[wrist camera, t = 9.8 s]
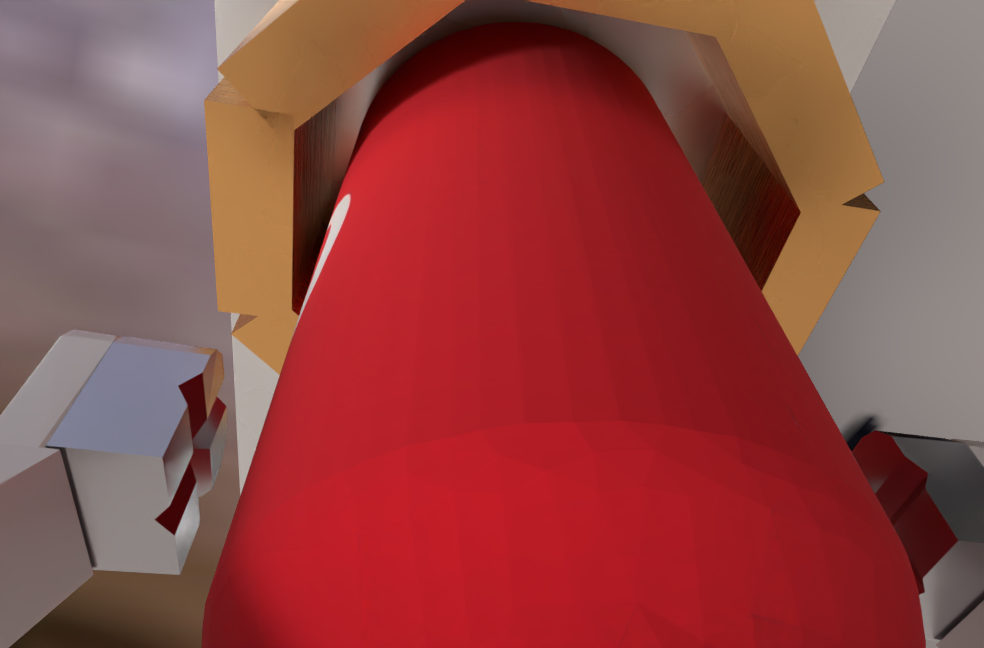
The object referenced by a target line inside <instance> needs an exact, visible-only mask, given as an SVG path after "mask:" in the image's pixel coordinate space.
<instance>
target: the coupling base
mask: <svg viewBox="0 0 984 648" xmlns="http://www.w3.org/2000/svg"><path fill="white" fill-rule="evenodd" d="M895 1H896V0H215V19H216V38H217V57H218V68H217V69H218V76H219V84H218V85H217V86H216V87H215V88H214V89H213V91H212V92H211V93H210V94H209V95H208V96H207V98H206V99H205V100H204V105H205V120H206V135H207V150H208V165H209V181H210V196H211V211H212V226H213V241H214V257H215V272H216V287H217V302H218V311H223V312H230V313H231V325H232V333H231V334H232V344H233V363H234V382H235V401H236V420H237V439H238V458H239V478H240V496H241V492H242V489H243V486H244V483H245V480H246V477H247V474H248V471H249V468H250V465H251V462H252V459H253V456H254V453H255V450H256V446H257V443H258V440H259V437H260V434H261V431H262V428H263V425H264V422H265V419H266V416H267V413H268V410H269V407H270V403H271V400H272V397H273V394H274V391H275V388H276V385H277V382H278V379H279V376H280V373H281V370H282V367H283V364H284V361H285V357H286V354H287V351H288V348H289V345H290V342H291V339H292V336H293V333H294V330H295V327H296V324H297V321H298V318H299V315H300V311H301V308H302V305H303V302H304V299H305V296H306V293H307V290H308V287H309V284H310V281H311V278H312V275H313V272H314V268H315V265H316V262H317V259H318V256H319V253H320V250H321V247H322V244H323V241H324V238H325V235H326V232H327V229H328V226H329V222H330V219H331V216H332V213H333V210H334V207H335V204H336V201H337V198H338V195H339V192H340V189H341V186H342V183H343V179H344V176H345V173H346V170H347V167H348V164H349V161H350V158H351V155H352V152H353V149H354V146H355V143H356V140H357V136H358V133H359V130H360V127H361V124H362V122H363V120H364V117H365V115H366V113H367V110H368V108H369V106H370V105H371V103H372V101H373V100H374V98H375V96H376V95H377V93H378V92H379V90H380V89H381V88H382V86H383V85H384V83H385V82H386V81H387V80H388V79H389V78H390V77H391V76H392V75H393V73H394V72H395V71H396V70H397V69H398V68H399V67H400V66H401V65H402V64H404V63H405V62H406V61H407V60H408V59H410V58H411V57H412V56H413V55H415V54H416V53H418V52H419V51H421V50H422V49H424V48H425V47H427V46H428V45H430V44H432V43H434V42H436V41H438V40H440V39H442V38H444V37H446V36H449V35H451V34H453V33H456V32H458V31H462V30H465V29H469V28H472V27H476V26H480V25H485V24H491V23H500V22H531V23H540V24H546V25H552V26H556V27H559V28H563V29H566V30H570V31H573V32H575V33H578V34H581V35H583V36H585V37H587V38H589V39H591V40H593V41H595V42H596V43H598V44H600V45H602V46H603V47H605V48H607V49H608V50H609V51H611V52H612V53H614V54H615V55H616V56H618V57H619V58H620V59H621V60H622V61H623V62H624V63H626V64H627V65H628V66H629V67H630V68H631V69H632V70H633V71H634V73H635V74H636V75H637V76H638V77H639V78H640V79H641V81H642V82H643V83H644V85H645V86H646V87H647V89H648V90H649V92H650V94H651V95H652V97H653V99H654V100H655V102H656V104H657V106H658V108H659V109H660V111H661V113H662V115H663V117H664V118H665V120H666V122H667V124H668V125H669V127H670V129H671V131H672V133H673V134H674V136H675V138H676V140H677V142H678V143H679V145H680V147H681V149H682V150H683V152H684V154H685V156H686V158H687V159H688V161H689V163H690V165H691V167H692V168H693V170H694V172H695V174H696V175H697V177H698V179H699V181H700V183H701V184H702V186H703V188H704V190H705V192H706V193H707V195H708V197H709V199H710V200H711V202H712V204H713V206H714V208H715V209H716V211H717V213H718V215H719V217H720V218H721V220H722V222H723V224H724V225H725V227H726V229H727V231H728V233H729V234H730V236H731V238H732V240H733V242H734V243H735V245H736V247H737V249H738V250H739V252H740V254H741V256H742V258H743V259H744V261H745V263H746V265H747V267H748V268H749V270H750V272H751V274H752V275H753V277H754V279H755V281H756V283H757V284H758V286H759V288H760V290H761V292H762V293H763V295H764V297H765V299H766V300H767V302H768V304H769V306H770V308H771V309H772V311H773V313H774V315H775V317H776V318H777V320H778V322H779V324H780V325H781V327H782V329H783V331H784V333H785V334H786V336H787V338H788V340H789V342H790V343H791V345H792V347H793V349H794V350H795V352H796V354H797V356H798V354H799V353H800V351H801V349H802V348H803V346H804V344H805V342H806V341H807V339H808V337H809V335H810V334H811V332H812V330H813V328H814V327H815V325H816V323H817V321H818V320H819V318H820V316H821V314H822V313H823V311H824V309H825V307H826V306H827V304H828V302H829V301H830V299H831V297H832V295H833V293H834V292H835V290H836V288H837V286H838V285H839V283H840V281H841V280H842V278H843V276H844V274H845V273H846V271H847V269H848V267H849V266H850V264H851V262H852V260H853V259H854V257H855V255H856V253H857V252H858V250H859V248H860V246H861V245H862V243H863V241H864V240H865V238H866V236H867V234H868V232H869V231H870V229H871V227H872V226H873V224H874V222H875V220H876V219H877V217H878V215H879V213H880V210H879V209H878V208H877V207H876V206H875V205H874V204H873V203H872V202H871V201H870V200H869V199H868V198H867V196H865V194H864V193H865V192H866V191H868V190H870V189H872V188H874V187H876V186H878V185H880V184H882V183H884V180H883V177H882V175H881V172H880V170H879V167H878V164H877V162H876V159H875V157H874V154H873V152H872V149H871V146H870V144H869V141H868V139H867V136H866V133H865V131H864V128H863V126H862V123H861V121H860V118H859V115H858V113H857V111H856V108H855V105H854V103H853V100H852V97H851V95H850V93H851V91H852V89H853V87H854V85H855V83H856V81H857V79H858V77H859V75H860V73H861V71H862V69H863V67H864V65H865V63H866V61H867V59H868V57H869V55H870V52H871V51H872V48H873V46H874V44H875V42H876V40H877V38H878V36H879V34H880V32H881V30H882V28H883V26H884V24H885V22H886V20H887V18H888V16H889V14H890V12H891V9H892V8H893V6H894V4H895Z"/></svg>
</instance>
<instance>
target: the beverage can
mask: <svg viewBox="0 0 984 648" xmlns="http://www.w3.org/2000/svg"><path fill="white" fill-rule="evenodd" d="M925 642H926V640H925V632H924V624H923V617H922V609H921V603H920V598H919V592H918V587H917V584H916V580H915V577H914V574H913V570H912V567H911V564H910V560H909V557H908V554H907V552H906V550H905V548H904V546H903V544H902V542H901V540H900V538H899V536H898V534H897V533H896V531H895V529H894V527H893V525H892V524H891V522H890V520H889V518H888V517H887V515H886V513H885V511H884V509H883V508H882V506H881V504H880V502H879V500H878V499H877V497H876V495H875V493H874V492H873V490H872V488H871V486H870V484H869V483H868V481H867V479H866V477H865V475H864V474H863V472H862V470H861V468H860V467H859V465H858V463H857V461H856V459H855V458H854V456H853V454H852V452H851V450H850V449H849V447H848V445H847V443H846V442H845V440H844V438H843V436H842V434H841V433H840V431H839V429H838V427H837V425H836V424H835V422H834V420H833V418H832V417H831V415H830V413H829V411H828V409H827V408H826V406H825V404H824V402H823V400H822V399H821V397H820V395H819V393H818V392H817V390H816V388H815V386H814V384H813V383H812V381H811V379H810V377H809V376H808V374H807V372H806V370H805V368H804V367H803V365H802V363H801V361H800V359H799V358H798V356H797V354H796V352H795V350H794V349H793V347H792V345H791V343H790V342H789V340H788V338H787V336H786V334H785V333H784V331H783V329H782V327H781V325H780V324H779V322H778V320H777V318H776V317H775V315H774V313H773V311H772V309H771V308H770V306H769V304H768V302H767V300H766V299H765V297H764V295H763V293H762V292H761V290H760V288H759V286H758V284H757V283H756V281H755V279H754V277H753V275H752V274H751V272H750V270H749V268H748V267H747V265H746V263H745V261H744V259H743V258H742V256H741V254H740V252H739V250H738V249H737V247H736V245H735V243H734V242H733V240H732V238H731V236H730V234H729V233H728V231H727V229H726V227H725V225H724V224H723V222H722V220H721V218H720V217H719V215H718V213H717V211H716V209H715V208H714V206H713V204H712V202H711V200H710V199H709V197H708V195H707V193H706V192H705V190H704V188H703V186H702V184H701V183H700V181H699V179H698V177H697V175H696V174H695V172H694V170H693V168H692V167H691V165H690V163H689V161H688V159H687V158H686V156H685V154H684V152H683V150H682V149H681V147H680V145H679V143H678V142H677V140H676V138H675V136H674V134H673V133H672V131H671V129H670V127H669V125H668V124H667V122H666V120H665V118H664V117H663V115H662V113H661V111H660V109H659V108H658V106H657V104H656V102H655V100H654V99H653V97H652V95H651V94H650V92H649V90H648V89H647V87H646V86H645V85H644V83H643V82H642V81H641V79H640V78H639V77H638V76H637V75H636V74H635V73H634V71H633V70H632V69H631V68H630V67H629V66H628V65H627V64H626V63H624V62H623V61H622V60H621V59H620V58H619V57H618V56H616V55H615V54H614V53H612V52H611V51H609V50H608V49H607V48H605V47H603V46H602V45H600V44H598V43H596V42H595V41H593V40H591V39H589V38H587V37H585V36H583V35H581V34H578V33H575V32H573V31H570V30H566V29H563V28H559V27H556V26H552V25H546V24H540V23H531V22H500V23H491V24H485V25H480V26H476V27H472V28H469V29H465V30H462V31H458V32H456V33H453V34H451V35H449V36H446V37H444V38H442V39H440V40H438V41H436V42H434V43H432V44H430V45H428V46H427V47H425V48H424V49H422V50H421V51H419V52H418V53H416V54H415V55H413V56H412V57H411V58H410V59H408V60H407V61H406V62H405V63H404V64H402V65H401V66H400V67H399V68H398V69H397V70H396V71H395V72H394V73H393V75H392V76H391V77H390V78H389V79H388V80H387V81H386V82H385V83H384V85H383V86H382V88H381V89H380V90H379V92H378V93H377V95H376V96H375V98H374V100H373V101H372V103H371V105H370V106H369V108H368V110H367V113H366V115H365V117H364V120H363V122H362V124H361V127H360V130H359V133H358V136H357V140H356V143H355V146H354V149H353V152H352V155H351V158H350V161H349V164H348V167H347V170H346V173H345V176H344V179H343V183H342V186H341V189H340V192H339V195H338V198H337V201H336V204H335V207H334V210H333V213H332V216H331V219H330V222H329V226H328V229H327V232H326V235H325V238H324V241H323V244H322V247H321V250H320V253H319V256H318V259H317V262H316V265H315V268H314V272H313V275H312V278H311V281H310V284H309V287H308V290H307V293H306V296H305V299H304V302H303V305H302V308H301V311H300V315H299V318H298V321H297V324H296V327H295V330H294V333H293V336H292V339H291V342H290V345H289V348H288V351H287V354H286V357H285V361H284V364H283V367H282V370H281V373H280V376H279V379H278V382H277V385H276V388H275V391H274V394H273V397H272V400H271V403H270V407H269V410H268V413H267V416H266V419H265V422H264V425H263V428H262V431H261V434H260V437H259V440H258V443H257V446H256V450H255V453H254V456H253V459H252V462H251V465H250V468H249V471H248V474H247V477H246V480H245V483H244V486H243V489H242V492H241V496H240V499H239V502H238V505H237V508H236V511H235V514H234V517H233V520H232V523H231V526H230V529H229V532H228V535H227V538H226V542H225V545H224V548H223V551H222V554H221V557H220V560H219V563H218V566H217V569H216V572H215V575H214V578H213V581H212V585H211V588H210V591H209V594H208V597H207V600H206V603H205V611H204V619H203V630H202V648H926V647H925V646H926V643H925Z"/></svg>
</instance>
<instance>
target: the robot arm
mask: <svg viewBox="0 0 984 648" xmlns="http://www.w3.org/2000/svg"><path fill="white" fill-rule="evenodd" d="M223 380H224V367H223V357H222V354H221V353H220V352H219V351H218V350H217V349H210V348H203V347H197V346H190V345H183V344H176V343H169V342H162V341H155V340H149V339H142V338H135V337H128V336H122V337H120V336H114V335H108V334H101V333H94V332H87V331H81V330H72V331H70V332H68V333H66V334H64V335H62V336H61V337H59V339H58V340H57V341H56V342H55V344H54V345H53V346H52V348H51V349H50V350H49V352H48V353H47V354H46V356H45V357H44V358H43V360H42V361H41V362H40V364H39V365H38V366H37V368H36V369H35V370H34V371H33V373H32V374H31V375H30V377H29V378H28V379H27V381H26V382H25V383H24V385H23V386H22V387H21V389H20V390H19V391H18V393H17V394H16V395H15V396H14V398H13V399H12V400H11V402H10V403H9V404H8V406H7V407H6V408H5V410H4V411H3V412H2V414H1V415H0V648H9V647H10V646H11V645H12V644H14V643H15V642H16V641H17V640H18V639H19V638H21V637H22V636H23V635H24V634H25V633H26V632H28V631H29V630H30V629H31V628H32V627H33V626H34V625H36V624H37V623H38V622H39V621H40V620H41V619H43V618H44V617H45V616H46V615H47V614H48V613H50V612H51V611H52V610H53V609H54V608H55V607H57V606H58V605H59V604H60V603H61V602H62V601H63V600H65V599H66V598H67V597H68V596H69V595H70V594H72V593H73V592H74V591H75V590H76V589H77V588H79V587H80V586H81V585H82V584H83V583H84V582H86V581H87V580H88V579H89V578H90V577H91V576H93V570H109V571H125V572H142V573H159V574H176V575H180V573H181V571H182V568H183V565H184V563H185V560H186V557H187V555H188V552H189V550H190V547H191V544H192V542H193V539H194V537H195V534H196V531H197V529H198V526H199V523H200V513H199V502H198V498H199V497H201V496H202V495H204V494H205V493H206V492H208V491H209V490H211V489H212V488H213V486H214V483H215V480H216V478H217V475H218V472H219V469H220V466H221V461H222V457H223V452H224V448H225V443H226V432H227V408H226V406H225V404H224V403H223V402H222V401H221V400H220V399H219V398H218V397H217V394H218V392H219V389H220V387H221V385H222V382H223ZM852 454H853V456H854V458H855V459H856V461H857V463H858V465H859V467H860V468H861V470H862V472H863V474H864V475H865V477H866V479H867V481H868V483H869V484H870V486H871V488H872V490H873V492H874V493H875V495H876V497H877V499H878V500H879V502H880V504H881V506H882V508H883V509H884V511H885V513H886V515H887V517H888V518H889V520H890V522H891V524H892V525H893V527H894V529H895V531H896V533H897V534H898V536H899V538H900V540H901V542H902V544H903V546H904V548H905V550H906V552H907V554H908V557H909V560H910V564H911V567H912V570H913V574H914V577H915V580H916V584H917V587H918V592H919V598H920V603H921V609H922V617H923V624H924V632H925V640H928V641H937V642H939V643H938V644H937V646H938V647H939V648H984V442H979V441H969V440H959V439H950V440H949V439H945V438H936V437H928V436H919V435H910V434H902V433H893V432H884V431H876V430H875V431H873V432H871V433H870V434H868V435H866V436H864V437H863V438H862V439H861V440H860V442H859V443H858V444H857V446H856V447H855V448H854V450H853V451H852Z"/></svg>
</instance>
